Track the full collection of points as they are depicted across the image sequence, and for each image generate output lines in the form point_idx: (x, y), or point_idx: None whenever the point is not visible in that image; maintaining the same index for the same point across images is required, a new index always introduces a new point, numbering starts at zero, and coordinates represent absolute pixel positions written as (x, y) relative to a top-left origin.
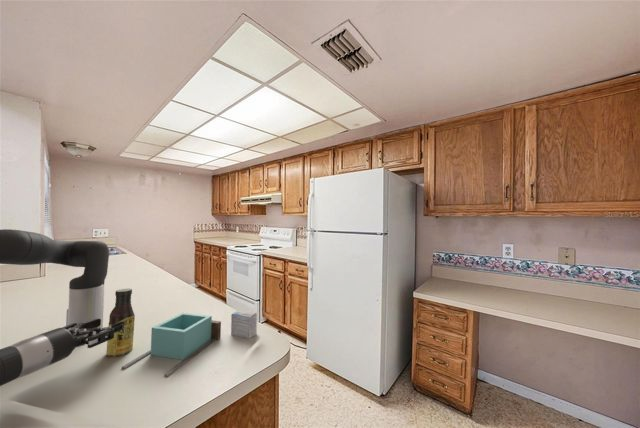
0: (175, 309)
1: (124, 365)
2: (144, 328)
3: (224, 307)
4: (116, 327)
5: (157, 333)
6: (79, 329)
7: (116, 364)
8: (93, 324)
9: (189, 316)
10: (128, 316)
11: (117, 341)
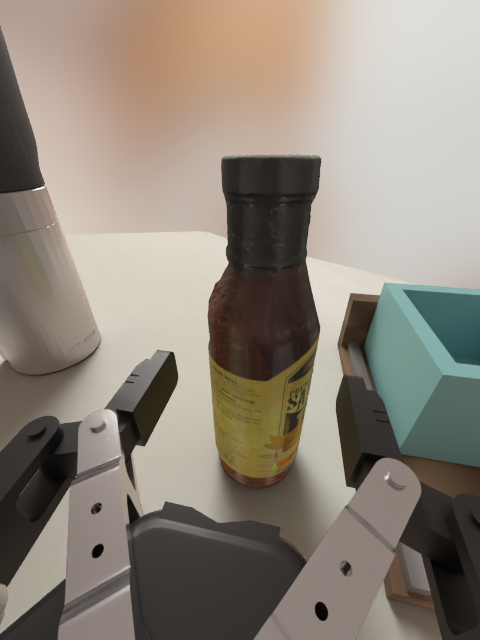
0: (213, 266)
1: (410, 569)
2: (203, 319)
3: (311, 258)
4: (394, 441)
5: (472, 397)
6: (148, 545)
7: (296, 509)
8: (158, 394)
9: (431, 296)
10: (317, 327)
11: (283, 437)
